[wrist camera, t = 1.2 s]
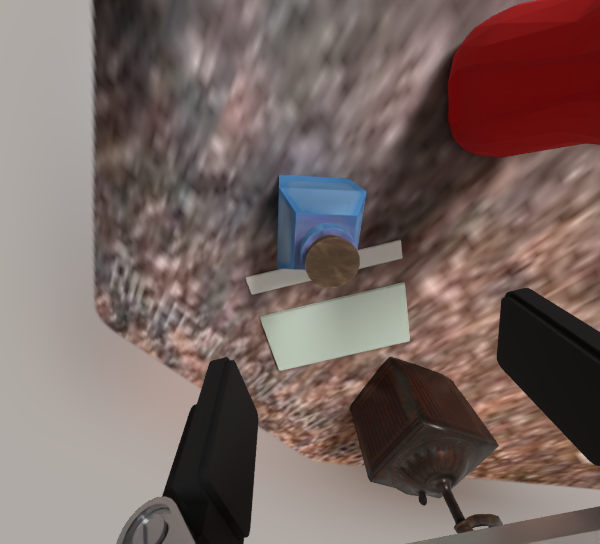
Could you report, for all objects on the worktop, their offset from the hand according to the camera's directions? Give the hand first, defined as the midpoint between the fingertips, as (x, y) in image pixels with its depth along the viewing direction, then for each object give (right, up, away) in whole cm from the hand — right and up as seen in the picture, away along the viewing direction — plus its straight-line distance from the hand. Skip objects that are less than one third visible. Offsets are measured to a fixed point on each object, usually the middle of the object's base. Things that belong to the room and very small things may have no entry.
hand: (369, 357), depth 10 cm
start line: (0, +3, +20) cm, 20 cm away
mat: (+2, -3, +23) cm, 24 cm away
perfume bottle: (-1, +9, +17) cm, 20 cm away
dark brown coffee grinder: (+13, -14, +30) cm, 36 cm away
